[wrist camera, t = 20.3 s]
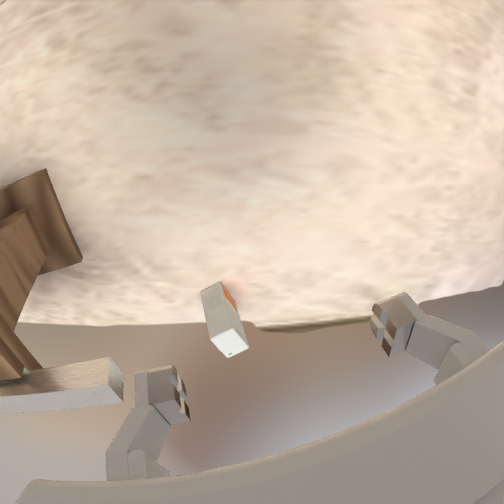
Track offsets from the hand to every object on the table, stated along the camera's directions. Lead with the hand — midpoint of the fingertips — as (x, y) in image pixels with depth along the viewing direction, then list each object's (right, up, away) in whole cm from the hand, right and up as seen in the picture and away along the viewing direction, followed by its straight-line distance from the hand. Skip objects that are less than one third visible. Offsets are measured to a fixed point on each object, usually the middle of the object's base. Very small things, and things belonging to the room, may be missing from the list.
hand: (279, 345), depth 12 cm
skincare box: (-7, -4, +46) cm, 47 cm away
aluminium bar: (-26, -10, +12) cm, 30 cm away
